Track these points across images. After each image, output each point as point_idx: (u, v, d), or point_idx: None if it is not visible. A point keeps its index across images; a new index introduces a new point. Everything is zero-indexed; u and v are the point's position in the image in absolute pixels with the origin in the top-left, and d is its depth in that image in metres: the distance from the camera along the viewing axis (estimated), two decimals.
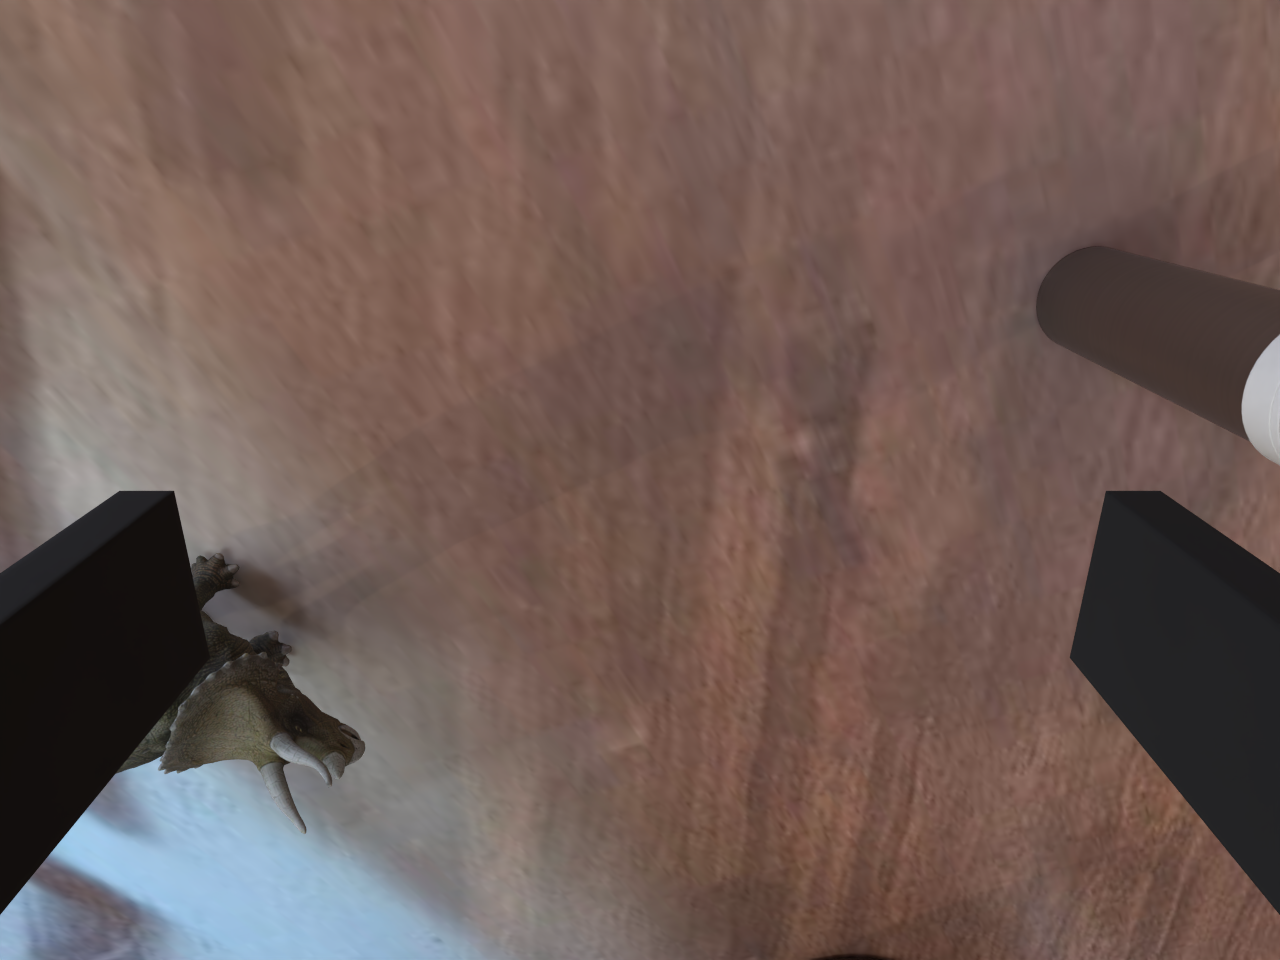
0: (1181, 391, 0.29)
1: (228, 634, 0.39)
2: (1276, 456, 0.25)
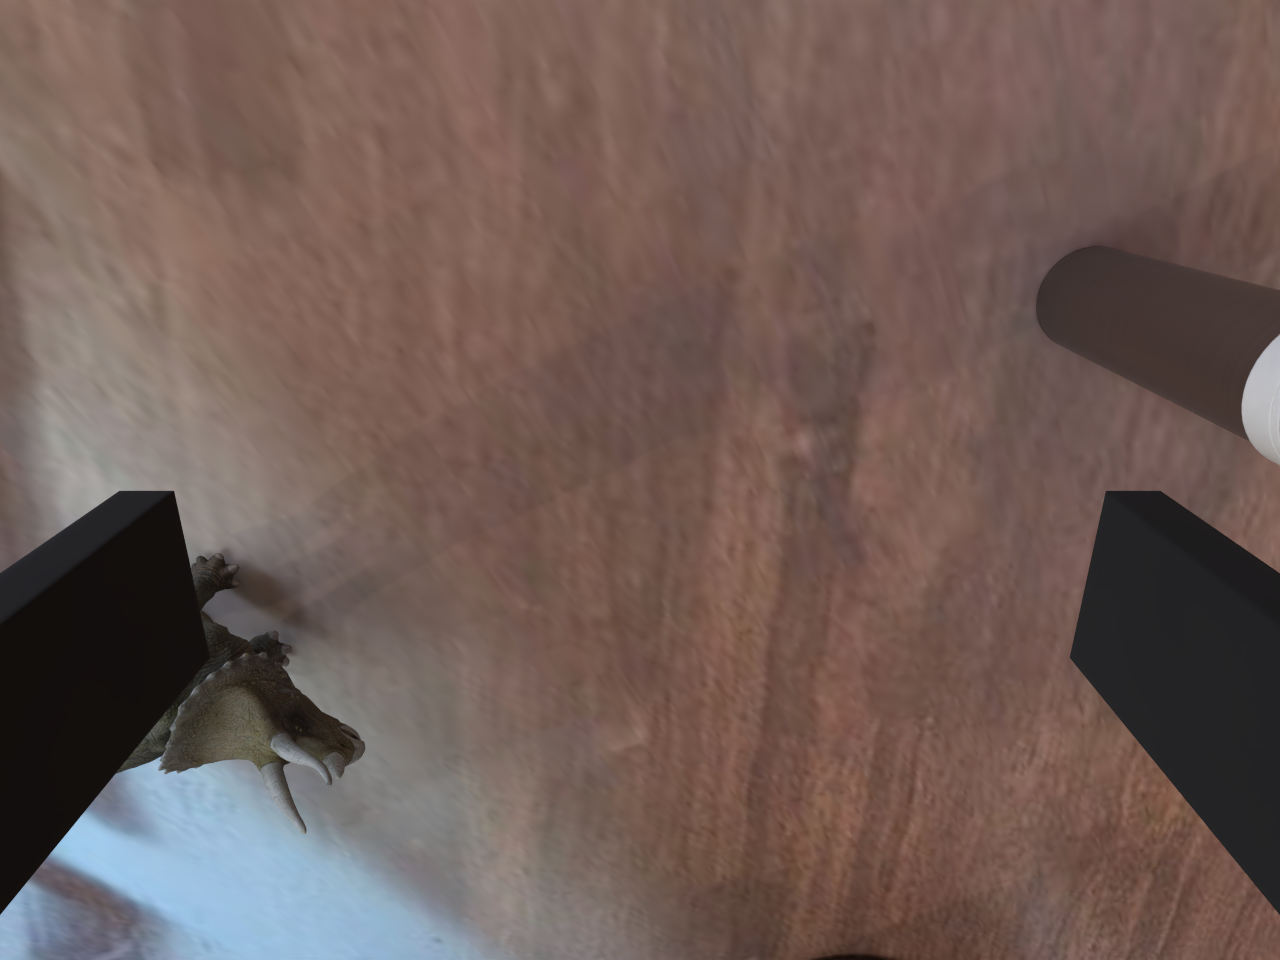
0: (1181, 391, 0.29)
1: (228, 634, 0.39)
2: (1276, 456, 0.25)
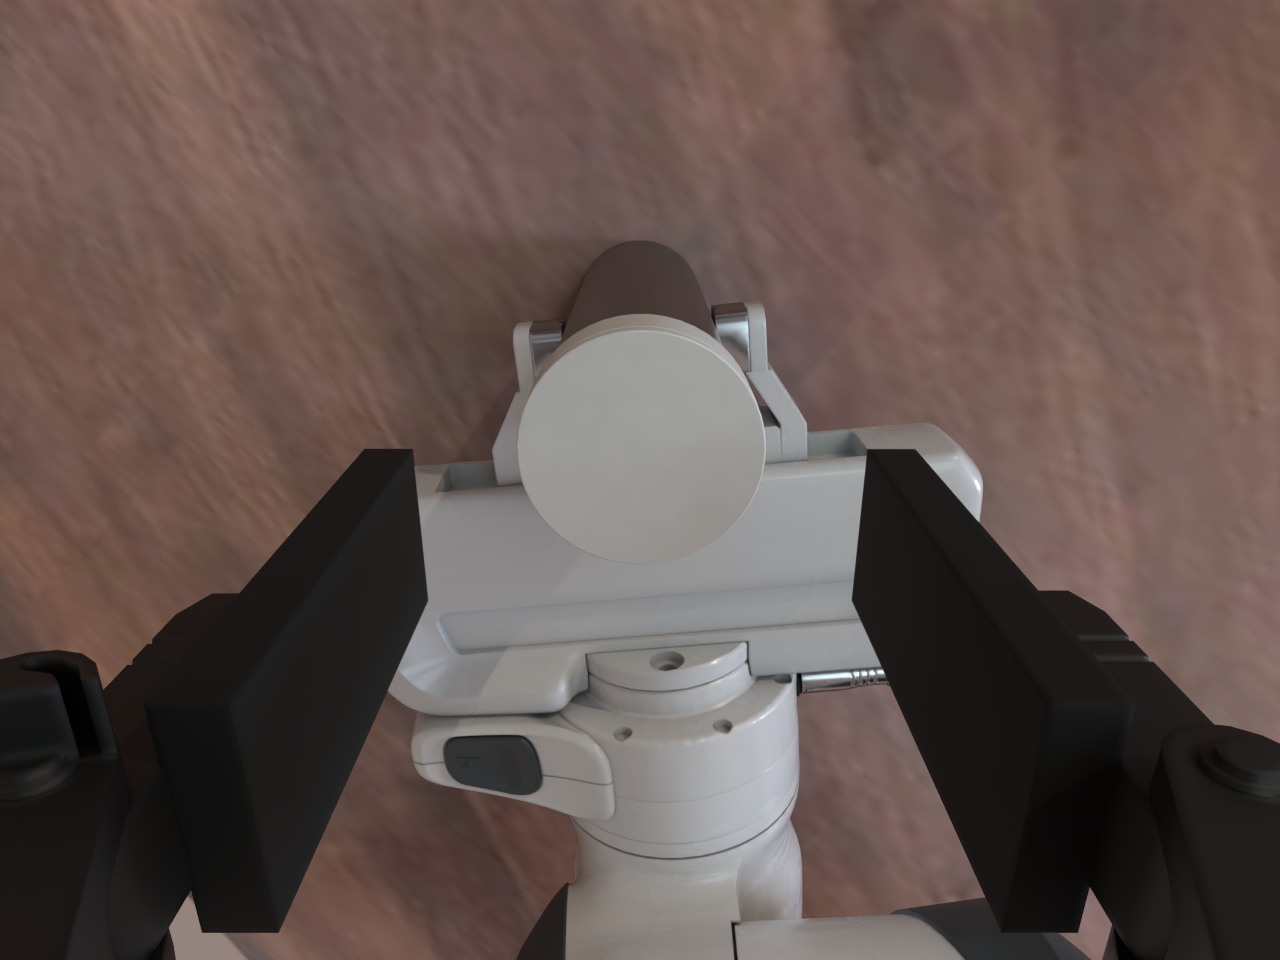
0: (696, 313, 0.21)
1: None
2: (691, 334, 0.17)
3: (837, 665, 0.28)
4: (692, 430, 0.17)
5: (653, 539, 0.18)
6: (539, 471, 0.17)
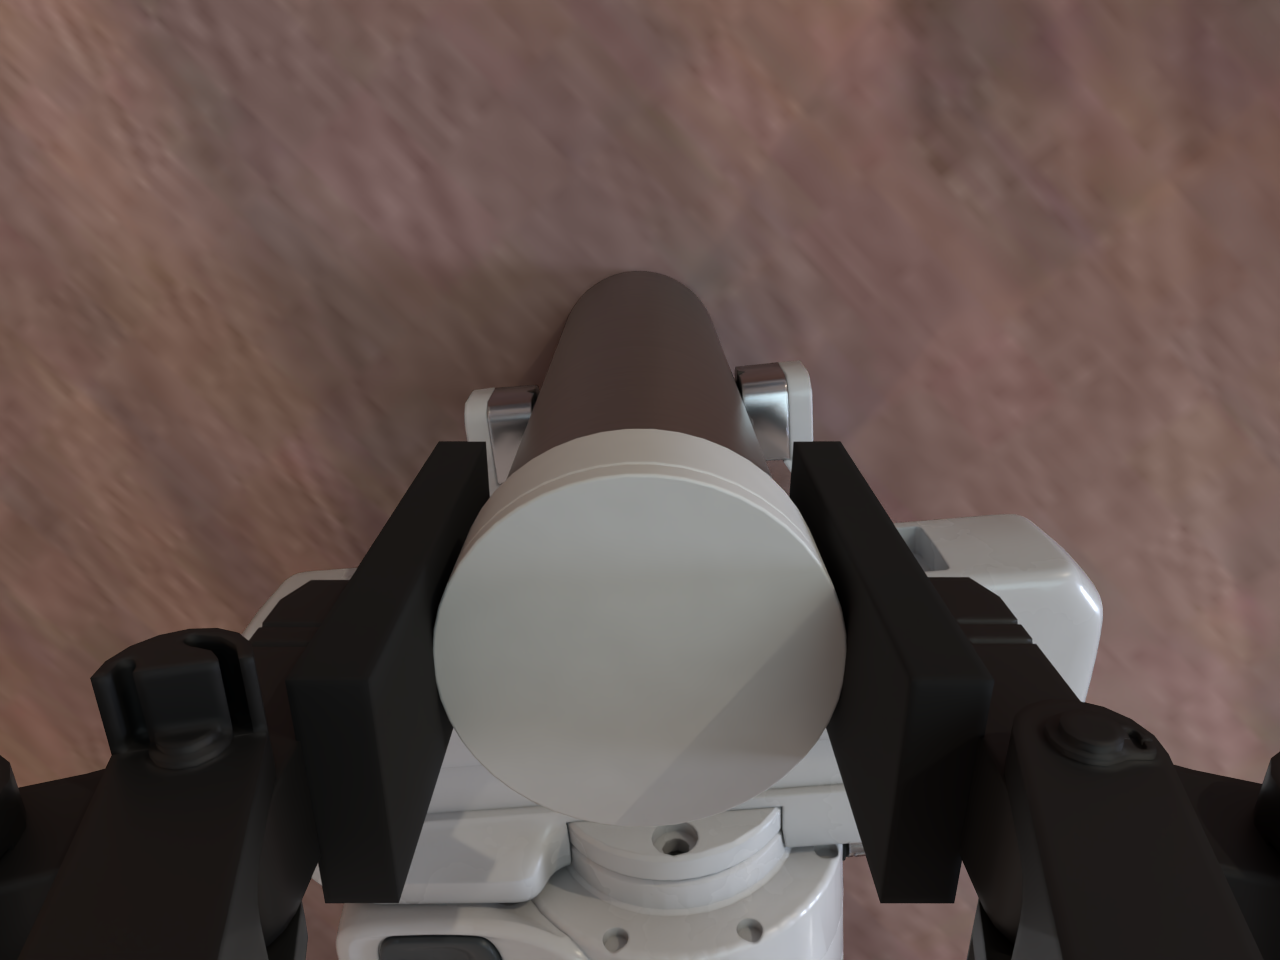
0: (722, 399, 0.14)
1: None
2: (725, 474, 0.10)
3: None
4: (725, 631, 0.10)
5: (659, 791, 0.11)
6: (471, 693, 0.11)
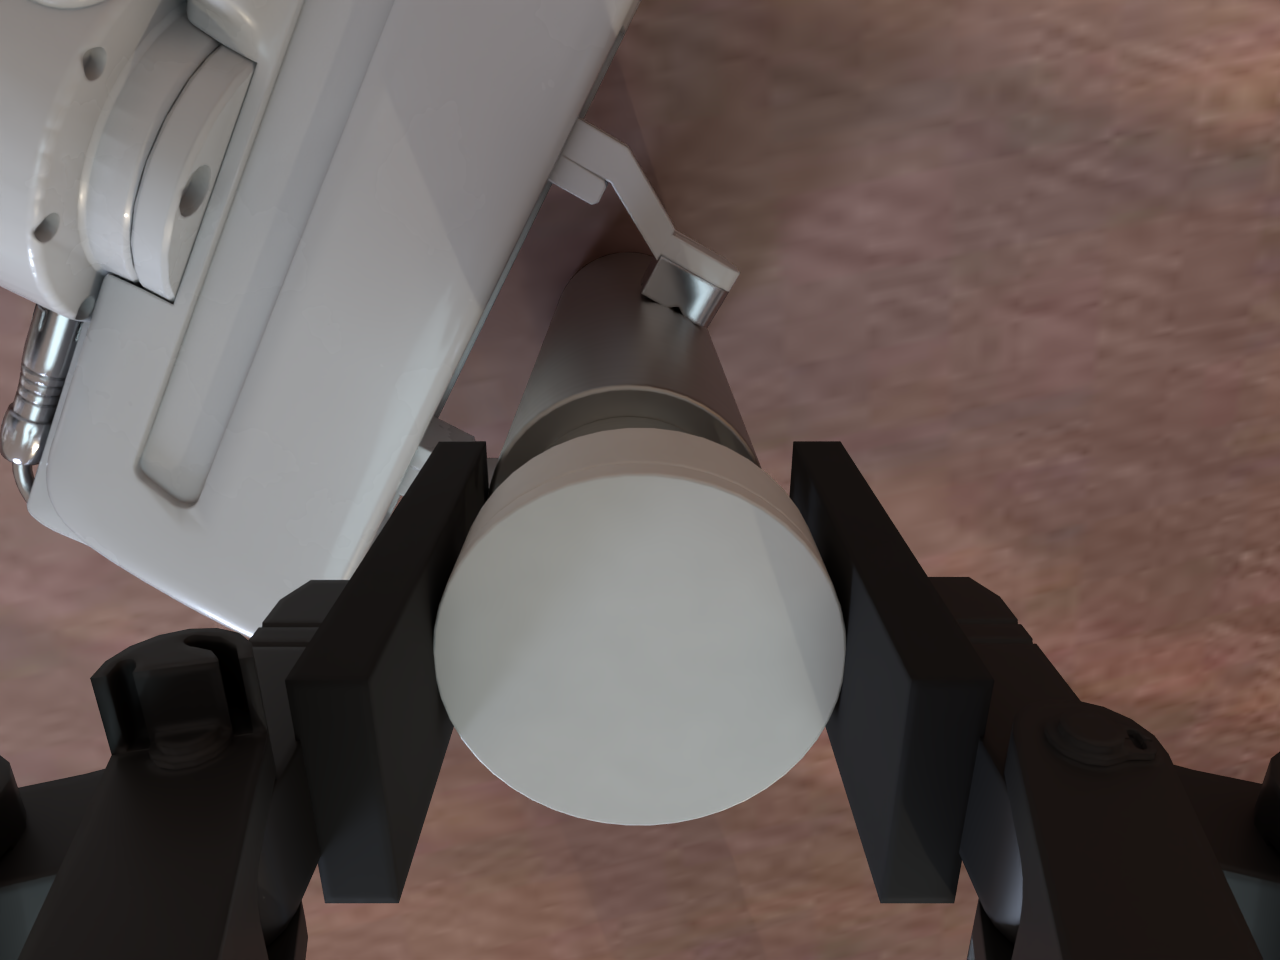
0: None
1: None
2: (724, 473, 0.10)
3: (79, 390, 0.19)
4: (725, 630, 0.10)
5: (659, 790, 0.11)
6: (472, 691, 0.11)
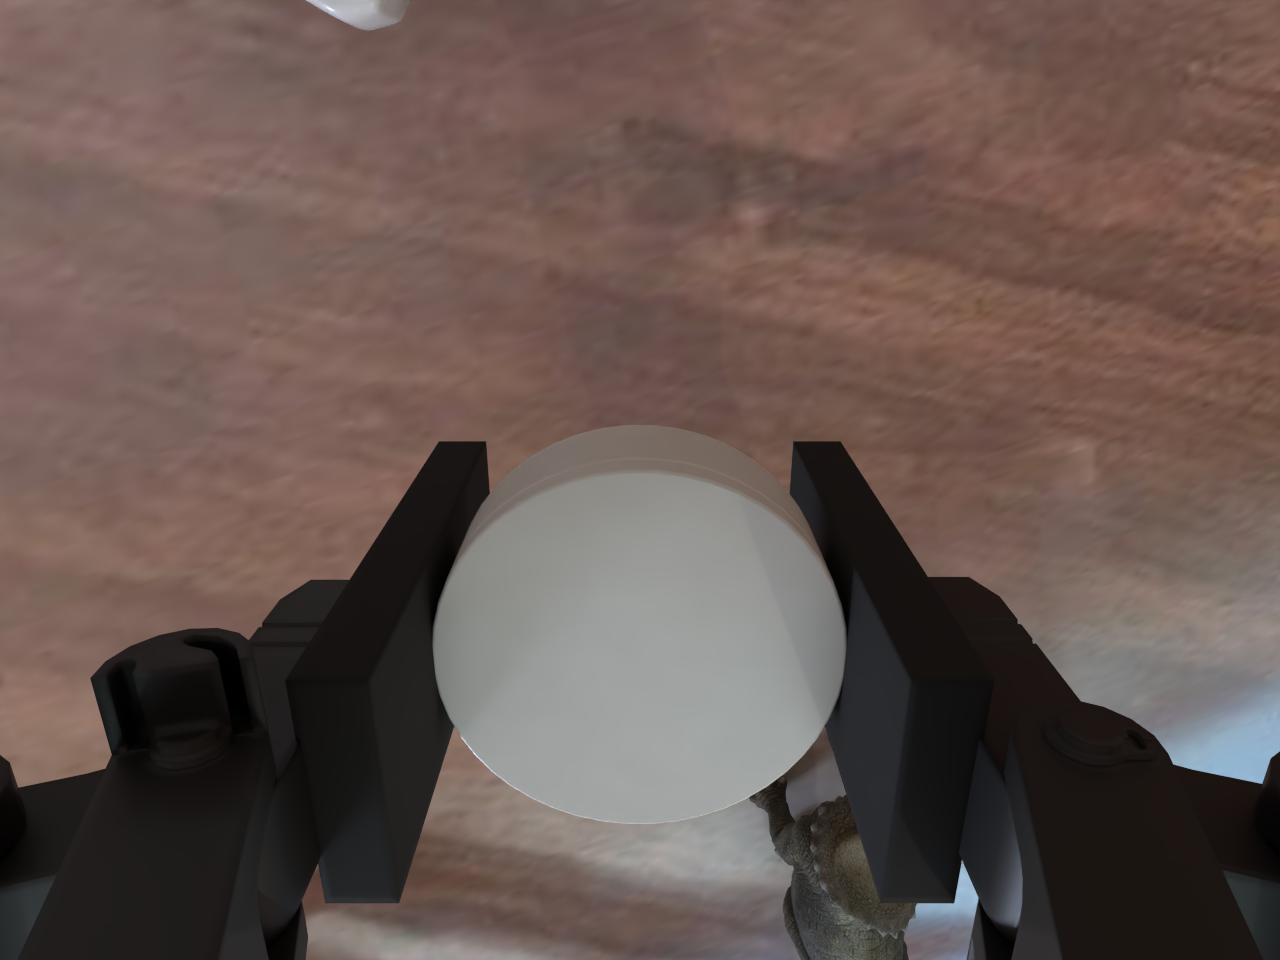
0: None
1: (807, 818, 0.42)
2: (725, 470, 0.10)
3: None
4: (725, 628, 0.10)
5: (659, 788, 0.11)
6: (471, 689, 0.10)
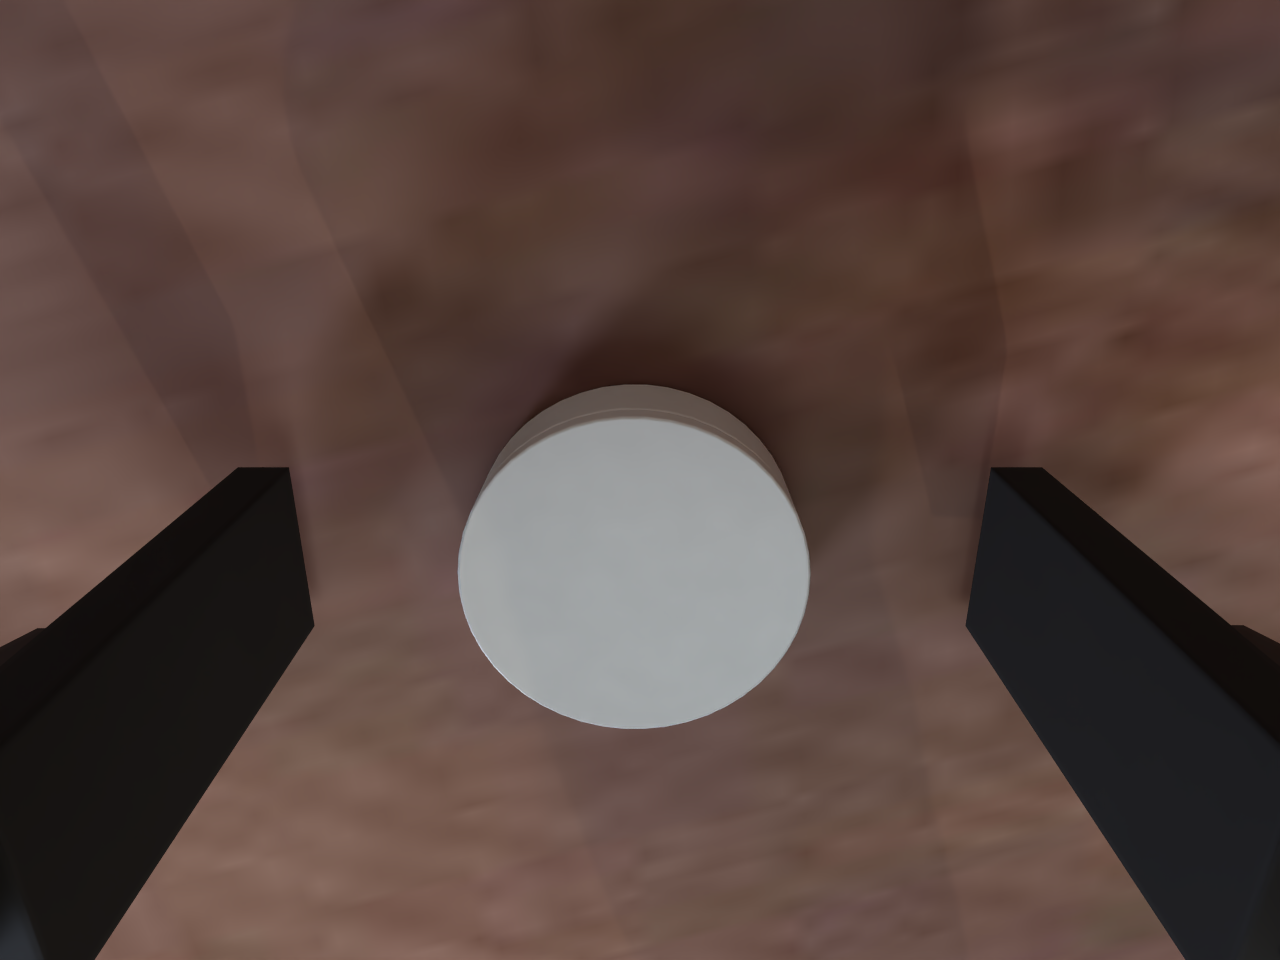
0: None
1: None
2: (705, 419, 0.12)
3: None
4: (706, 553, 0.12)
5: (651, 696, 0.13)
6: (491, 608, 0.12)
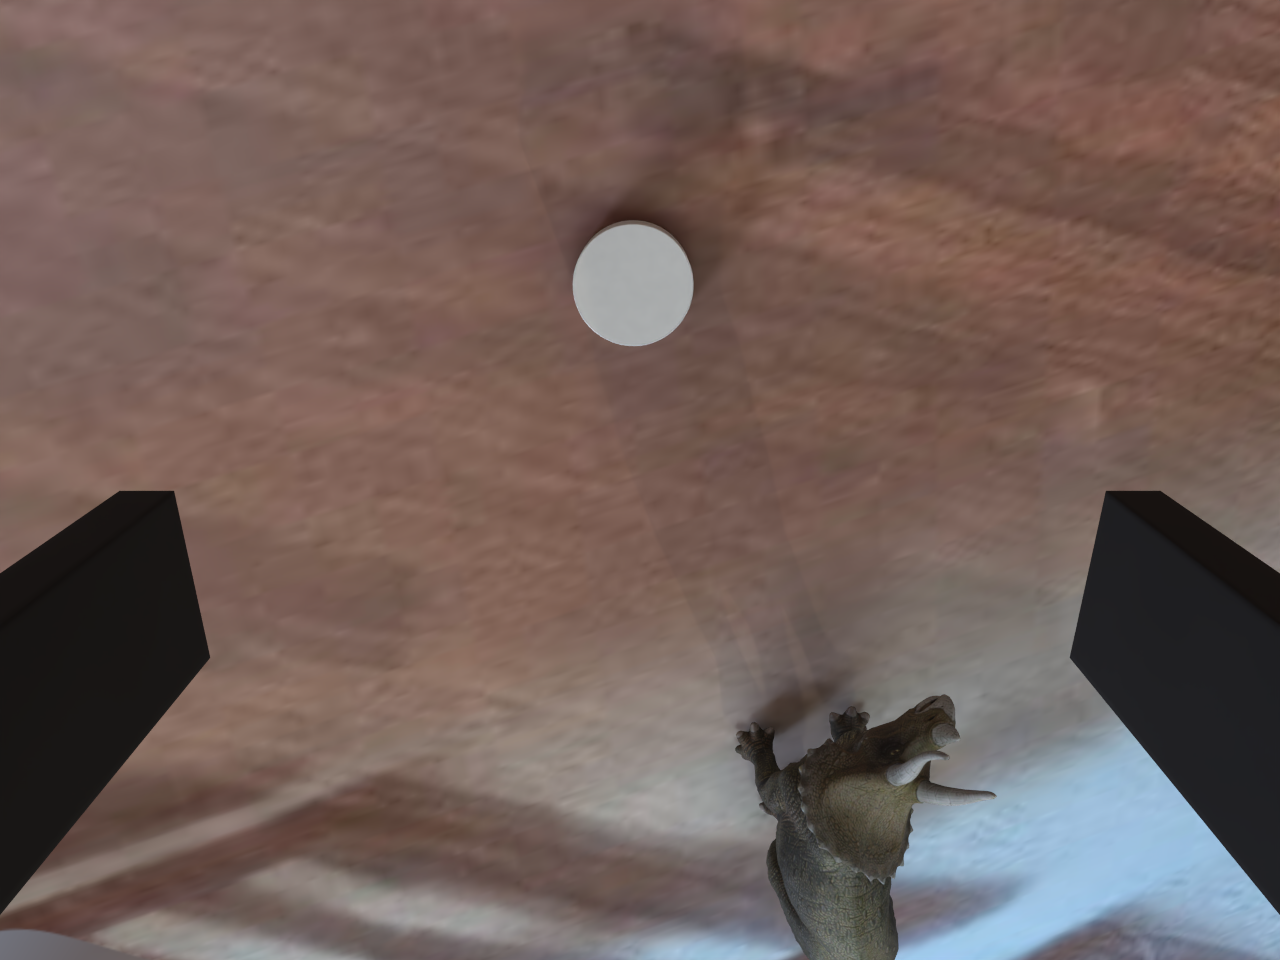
0: None
1: (795, 765, 0.40)
2: (657, 227, 0.35)
3: None
4: (657, 274, 0.35)
5: (639, 332, 0.36)
6: (583, 295, 0.36)
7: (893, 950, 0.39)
